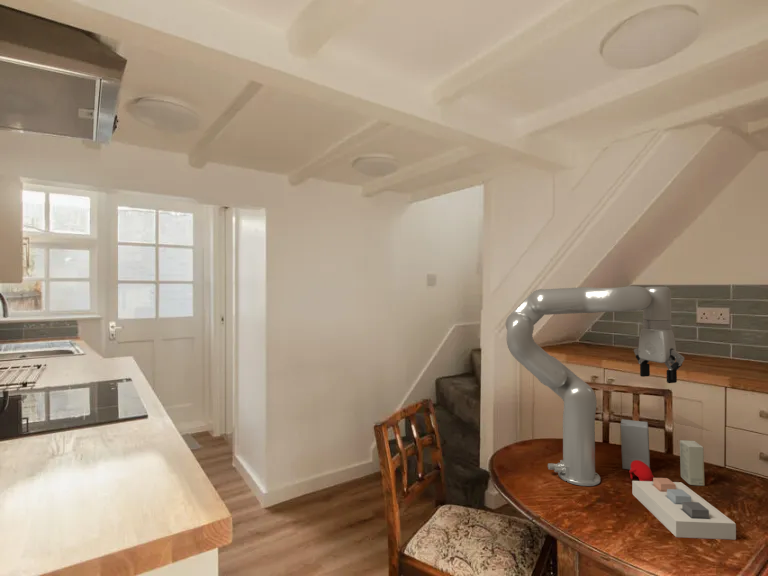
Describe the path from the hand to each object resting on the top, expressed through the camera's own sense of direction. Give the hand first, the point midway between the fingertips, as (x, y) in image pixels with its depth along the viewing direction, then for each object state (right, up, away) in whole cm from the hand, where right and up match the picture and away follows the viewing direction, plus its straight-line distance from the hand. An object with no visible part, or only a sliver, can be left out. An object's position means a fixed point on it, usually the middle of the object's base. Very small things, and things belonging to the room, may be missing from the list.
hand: (657, 379), depth 134 cm
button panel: (-6, -33, -18) cm, 38 cm away
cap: (-4, -34, +2) cm, 34 cm away
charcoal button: (-6, -30, -25) cm, 40 cm away
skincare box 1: (0, -33, +12) cm, 35 cm away
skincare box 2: (+12, -33, +2) cm, 35 cm away
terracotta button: (-5, -30, -11) cm, 33 cm away
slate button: (-6, -30, -18) cm, 36 cm away
